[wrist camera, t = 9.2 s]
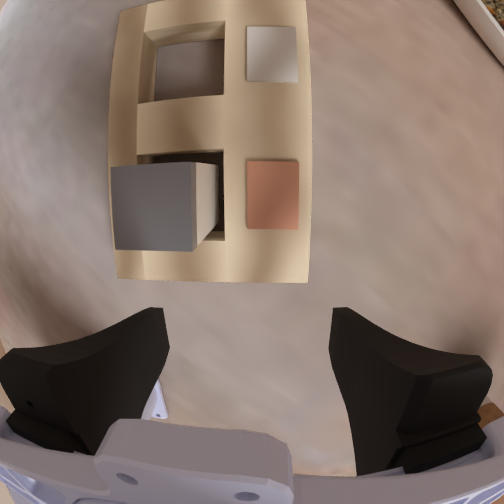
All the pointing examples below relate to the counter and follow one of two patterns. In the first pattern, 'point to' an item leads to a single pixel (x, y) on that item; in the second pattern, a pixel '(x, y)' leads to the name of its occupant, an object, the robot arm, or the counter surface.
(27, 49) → the counter surface
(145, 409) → the robot arm
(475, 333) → the counter surface
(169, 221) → the plug
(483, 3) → the bowl
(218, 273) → the socket block
